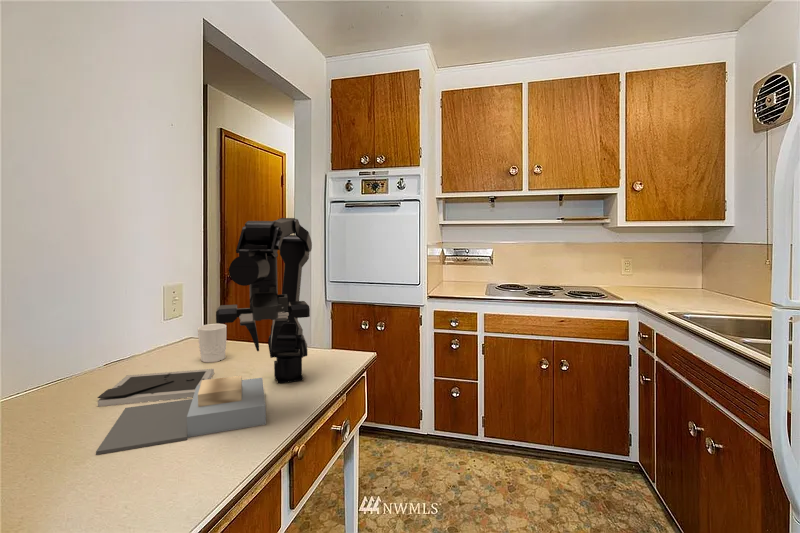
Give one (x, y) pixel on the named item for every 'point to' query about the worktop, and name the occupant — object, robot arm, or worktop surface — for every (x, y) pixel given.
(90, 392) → the worktop surface
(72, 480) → the worktop surface
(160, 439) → the rubber mat
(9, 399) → the worktop surface
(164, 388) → the picture frame
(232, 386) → the coaster
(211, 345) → the white cup
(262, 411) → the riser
